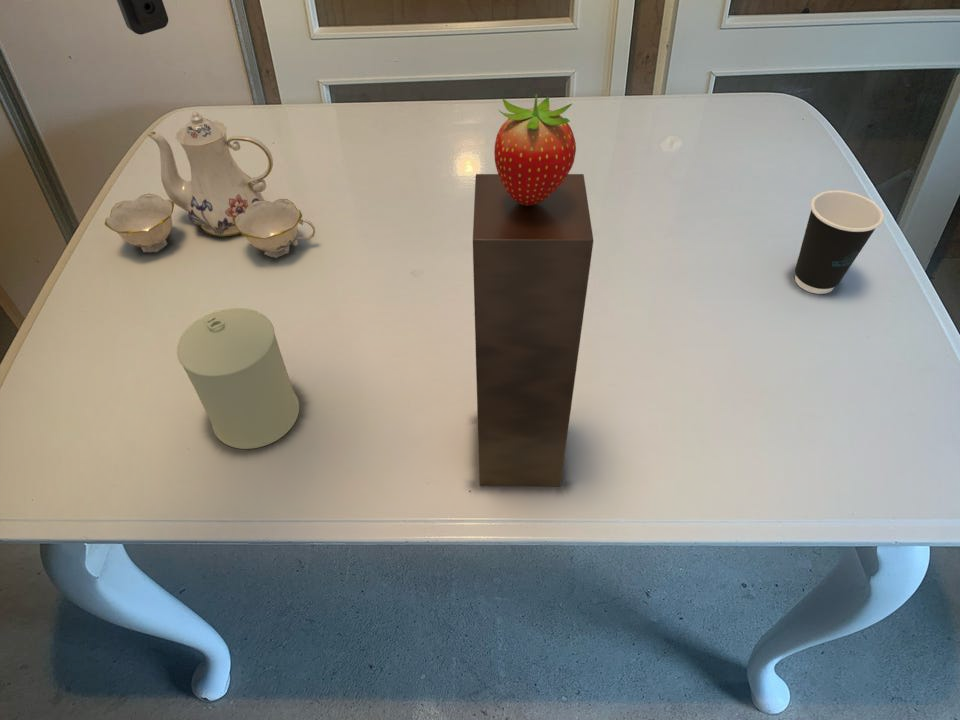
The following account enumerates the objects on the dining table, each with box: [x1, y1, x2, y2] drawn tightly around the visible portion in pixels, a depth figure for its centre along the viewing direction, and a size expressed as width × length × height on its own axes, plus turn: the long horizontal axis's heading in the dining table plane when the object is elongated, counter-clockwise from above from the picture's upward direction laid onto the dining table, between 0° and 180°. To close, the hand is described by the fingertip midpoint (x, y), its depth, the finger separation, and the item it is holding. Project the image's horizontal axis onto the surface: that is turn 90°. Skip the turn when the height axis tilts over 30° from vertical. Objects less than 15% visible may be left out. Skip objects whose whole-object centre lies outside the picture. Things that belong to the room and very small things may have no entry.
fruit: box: [493, 94, 577, 206], centre depth 45 cm, size 5×5×8 cm
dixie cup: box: [794, 189, 885, 295], centre depth 83 cm, size 8×8×11 cm
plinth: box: [472, 173, 594, 487], centre depth 59 cm, size 8×8×30 cm
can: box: [176, 307, 300, 450], centre depth 69 cm, size 9×9×12 cm
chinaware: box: [104, 111, 316, 259], centre depth 90 cm, size 28×17×17 cm, turn 91°
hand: (118, 9), depth 41 cm, fingers open, 8 cm apart
